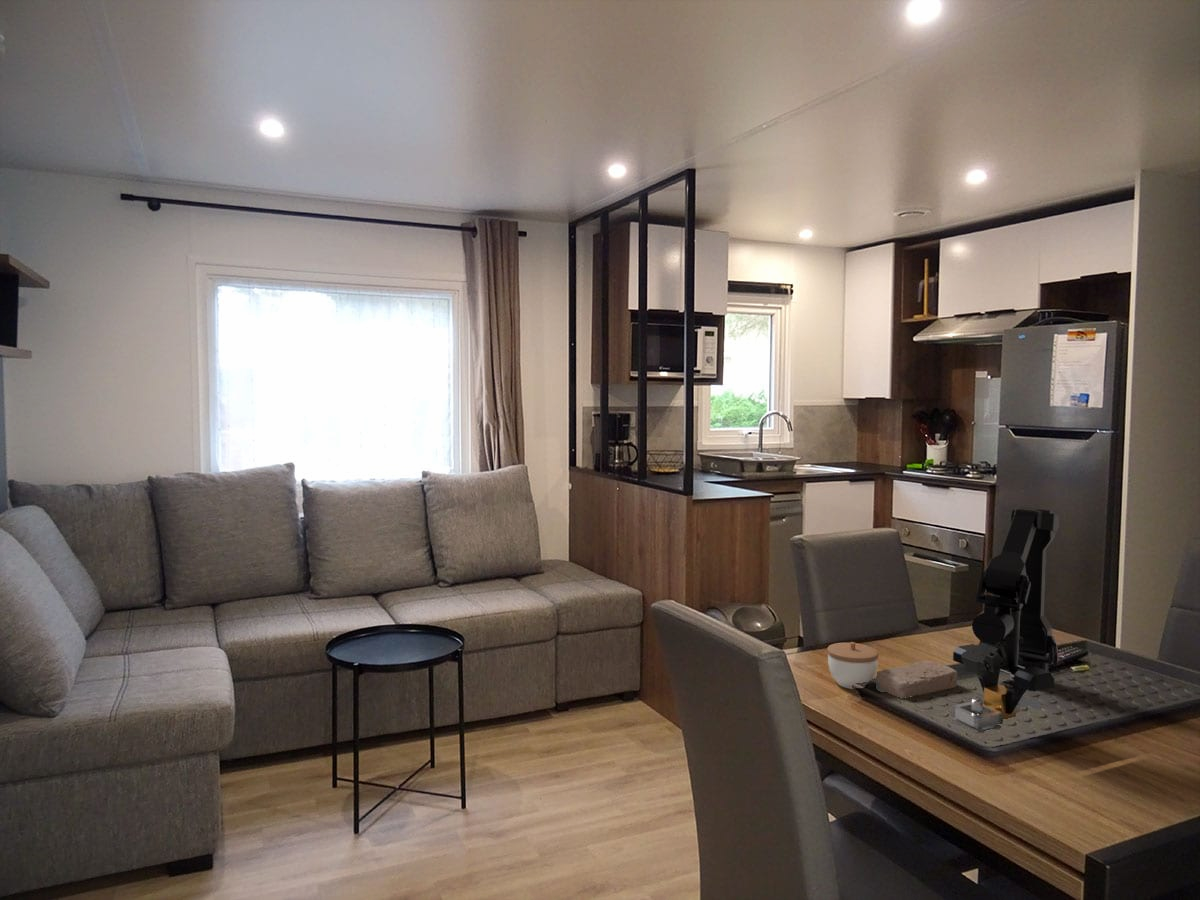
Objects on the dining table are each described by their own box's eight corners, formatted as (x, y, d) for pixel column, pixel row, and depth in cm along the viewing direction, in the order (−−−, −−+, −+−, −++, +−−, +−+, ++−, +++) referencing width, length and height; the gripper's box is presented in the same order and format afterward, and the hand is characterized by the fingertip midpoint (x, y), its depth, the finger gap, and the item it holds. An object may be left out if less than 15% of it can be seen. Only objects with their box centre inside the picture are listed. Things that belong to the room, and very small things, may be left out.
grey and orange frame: (1002, 704, 160) (1003, 680, 159) (1030, 716, 154) (1031, 691, 153) (950, 715, 154) (951, 690, 154) (978, 729, 148) (979, 703, 148)
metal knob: (974, 717, 157) (975, 692, 156) (1000, 729, 151) (1001, 703, 151) (952, 722, 154) (952, 696, 154) (977, 735, 149) (978, 708, 148)
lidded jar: (819, 676, 181) (820, 635, 180) (865, 674, 182) (866, 634, 181) (837, 694, 170) (838, 651, 170) (885, 692, 171) (887, 650, 171)
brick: (902, 703, 166) (903, 681, 166) (872, 690, 173) (873, 669, 173) (958, 691, 173) (959, 670, 173) (927, 678, 181) (928, 658, 180)
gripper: (933, 622, 159) (931, 698, 160) (1014, 651, 142) (1011, 735, 143) (974, 616, 163) (972, 690, 165) (1058, 643, 146) (1054, 725, 148)
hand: (999, 709), depth 155 cm, fingers closed on grey and orange frame, 4 cm apart
